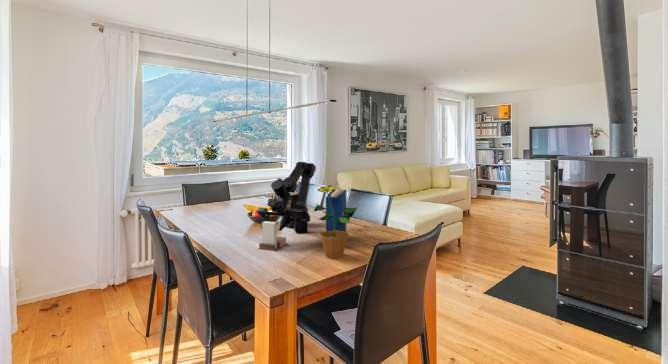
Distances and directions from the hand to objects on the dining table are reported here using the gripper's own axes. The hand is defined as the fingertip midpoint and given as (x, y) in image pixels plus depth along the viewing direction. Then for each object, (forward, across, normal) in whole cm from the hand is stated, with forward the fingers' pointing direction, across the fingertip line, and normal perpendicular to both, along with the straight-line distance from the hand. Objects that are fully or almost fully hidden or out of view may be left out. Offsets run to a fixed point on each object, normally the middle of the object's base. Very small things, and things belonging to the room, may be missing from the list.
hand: (270, 229), depth 159 cm
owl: (-25, -12, +38) cm, 47 cm away
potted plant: (+6, +31, +7) cm, 32 cm away
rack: (+5, 0, +8) cm, 9 cm away
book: (-10, +23, +23) cm, 34 cm away
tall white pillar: (+7, 0, +5) cm, 8 cm away
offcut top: (+1, 0, +8) cm, 8 cm away
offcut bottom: (+2, 0, +9) cm, 10 cm away
